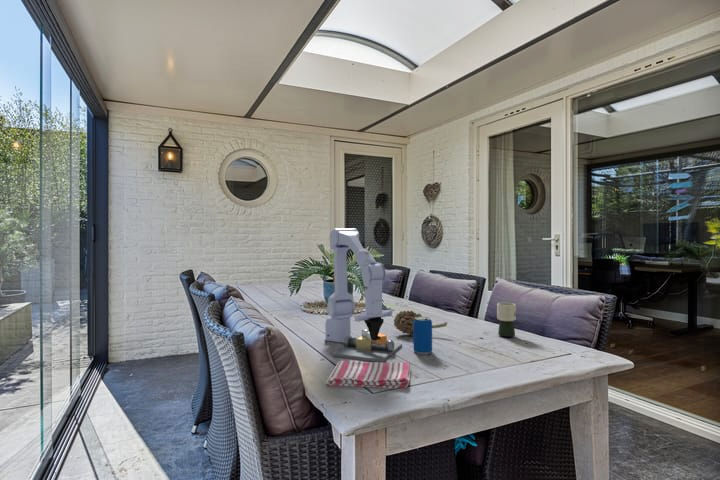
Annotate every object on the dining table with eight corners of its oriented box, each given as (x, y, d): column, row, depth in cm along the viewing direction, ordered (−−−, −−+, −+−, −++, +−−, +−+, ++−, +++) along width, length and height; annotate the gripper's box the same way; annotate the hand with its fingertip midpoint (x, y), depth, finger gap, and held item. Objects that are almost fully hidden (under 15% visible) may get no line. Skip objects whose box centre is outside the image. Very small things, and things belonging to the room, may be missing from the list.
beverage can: (432, 355, 141) (431, 320, 141) (412, 354, 143) (412, 319, 142) (432, 350, 148) (432, 316, 147) (414, 349, 149) (414, 316, 149)
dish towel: (409, 391, 112) (409, 378, 112) (324, 387, 115) (324, 375, 115) (410, 369, 129) (410, 358, 129) (337, 367, 132) (336, 356, 132)
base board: (333, 356, 142) (333, 353, 142) (357, 341, 160) (357, 338, 160) (382, 362, 134) (382, 359, 134) (402, 346, 153) (402, 343, 152)
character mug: (520, 340, 159) (520, 306, 159) (501, 339, 160) (501, 306, 159) (511, 332, 170) (511, 301, 170) (493, 332, 171) (493, 301, 170)
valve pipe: (343, 348, 149) (343, 337, 148) (349, 345, 153) (348, 334, 153) (390, 354, 141) (390, 342, 141) (395, 350, 146) (395, 338, 145)
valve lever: (360, 336, 148) (359, 329, 148) (367, 335, 150) (367, 328, 150) (379, 344, 138) (379, 336, 138) (387, 342, 139) (387, 335, 139)
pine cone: (392, 337, 165) (392, 312, 165) (394, 331, 175) (394, 308, 174) (449, 339, 162) (449, 313, 161) (447, 333, 171) (447, 309, 171)
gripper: (363, 303, 132) (363, 346, 132) (397, 299, 140) (398, 338, 140) (350, 300, 137) (351, 341, 138) (384, 296, 146) (385, 334, 146)
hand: (374, 340), depth 139 cm, fingers closed
